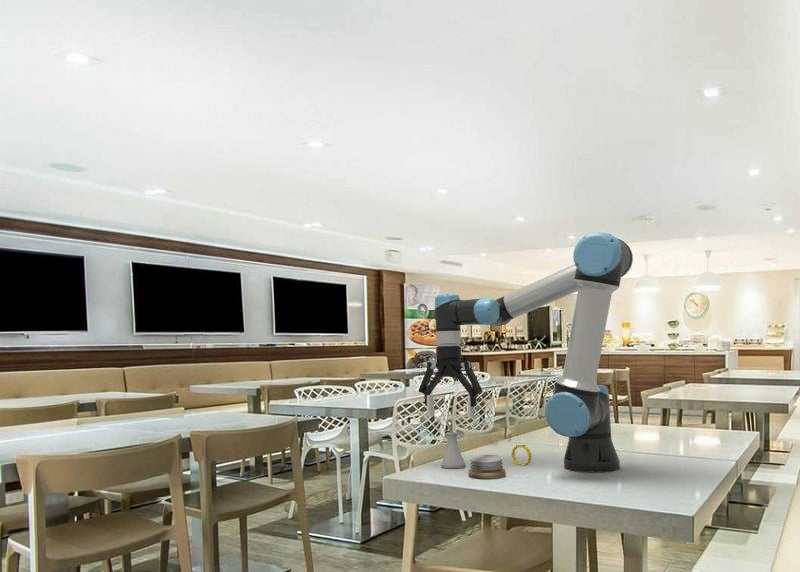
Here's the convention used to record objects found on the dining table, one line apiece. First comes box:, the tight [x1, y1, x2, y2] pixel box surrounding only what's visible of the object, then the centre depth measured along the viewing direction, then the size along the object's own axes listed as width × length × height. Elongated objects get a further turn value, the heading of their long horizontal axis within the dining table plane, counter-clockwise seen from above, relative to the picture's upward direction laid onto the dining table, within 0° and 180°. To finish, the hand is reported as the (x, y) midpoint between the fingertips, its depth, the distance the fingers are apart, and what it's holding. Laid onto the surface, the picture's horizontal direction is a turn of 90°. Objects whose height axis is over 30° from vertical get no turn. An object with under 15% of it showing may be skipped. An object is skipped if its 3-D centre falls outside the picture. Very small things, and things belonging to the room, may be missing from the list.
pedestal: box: [467, 454, 507, 480], centre depth 175 cm, size 10×10×5 cm
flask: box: [441, 431, 466, 469], centre depth 191 cm, size 7×7×10 cm
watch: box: [511, 443, 532, 466], centre depth 191 cm, size 6×3×6 cm, turn 50°
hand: (450, 417), depth 192 cm, fingers open, 13 cm apart
